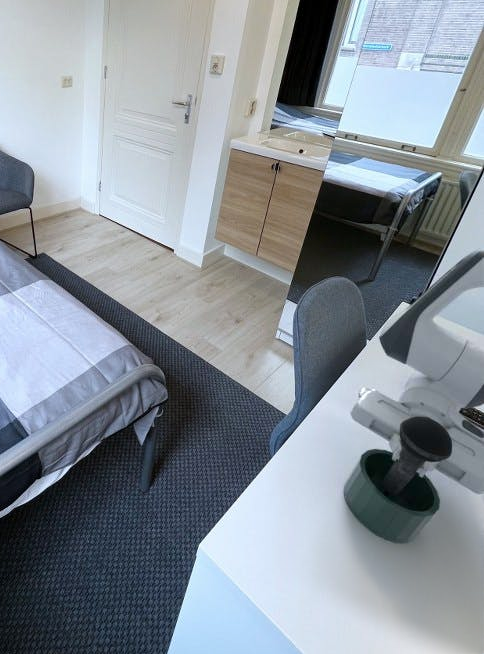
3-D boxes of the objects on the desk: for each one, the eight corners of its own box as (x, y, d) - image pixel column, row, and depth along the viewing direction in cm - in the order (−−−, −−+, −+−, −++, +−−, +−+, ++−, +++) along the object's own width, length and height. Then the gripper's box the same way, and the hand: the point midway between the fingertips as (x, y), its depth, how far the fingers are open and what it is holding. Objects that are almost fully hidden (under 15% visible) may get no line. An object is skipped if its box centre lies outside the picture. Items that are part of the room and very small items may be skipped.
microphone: (355, 475, 78) (400, 402, 68) (395, 484, 77) (447, 411, 67) (368, 514, 72) (421, 439, 62) (412, 524, 71) (472, 450, 61)
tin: (409, 492, 78) (428, 465, 74) (426, 556, 69) (449, 529, 65) (340, 466, 82) (355, 439, 78) (347, 524, 72) (365, 496, 68)
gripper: (369, 373, 82) (347, 412, 73) (504, 444, 70) (497, 501, 61) (357, 395, 85) (334, 436, 76) (484, 467, 73) (475, 525, 64)
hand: (408, 466), depth 69 cm, fingers closed on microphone
